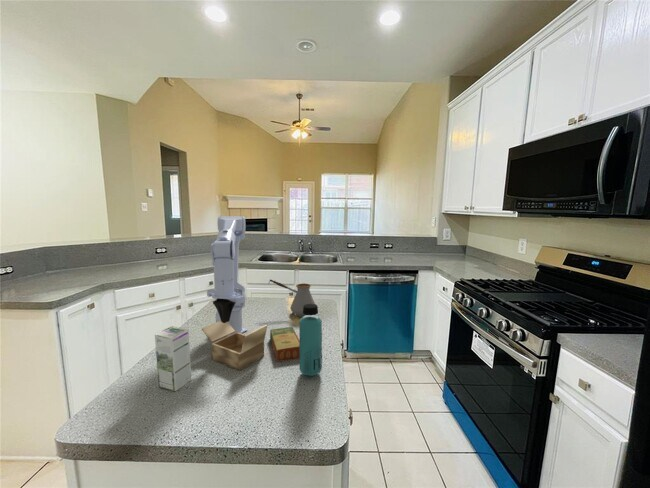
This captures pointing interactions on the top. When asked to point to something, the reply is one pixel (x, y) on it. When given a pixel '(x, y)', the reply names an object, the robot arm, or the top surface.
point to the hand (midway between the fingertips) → (225, 321)
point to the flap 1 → (217, 330)
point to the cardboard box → (235, 352)
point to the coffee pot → (299, 297)
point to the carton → (285, 343)
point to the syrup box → (173, 358)
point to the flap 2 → (254, 338)
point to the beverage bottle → (310, 341)
